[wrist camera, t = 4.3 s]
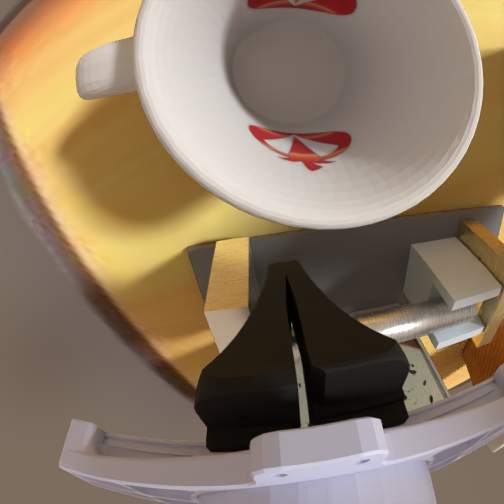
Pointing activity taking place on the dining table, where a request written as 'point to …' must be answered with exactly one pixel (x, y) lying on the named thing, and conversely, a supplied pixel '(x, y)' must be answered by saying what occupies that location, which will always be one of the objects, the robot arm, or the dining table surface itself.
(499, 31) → the dining table surface
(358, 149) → the cup
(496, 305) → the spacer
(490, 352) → the disposable coffee cup
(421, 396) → the food container
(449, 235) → the mat
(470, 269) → the bearing block
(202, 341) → the dining table surface
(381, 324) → the shaft
